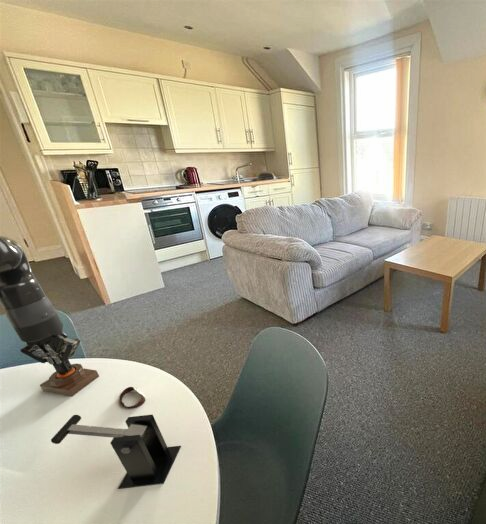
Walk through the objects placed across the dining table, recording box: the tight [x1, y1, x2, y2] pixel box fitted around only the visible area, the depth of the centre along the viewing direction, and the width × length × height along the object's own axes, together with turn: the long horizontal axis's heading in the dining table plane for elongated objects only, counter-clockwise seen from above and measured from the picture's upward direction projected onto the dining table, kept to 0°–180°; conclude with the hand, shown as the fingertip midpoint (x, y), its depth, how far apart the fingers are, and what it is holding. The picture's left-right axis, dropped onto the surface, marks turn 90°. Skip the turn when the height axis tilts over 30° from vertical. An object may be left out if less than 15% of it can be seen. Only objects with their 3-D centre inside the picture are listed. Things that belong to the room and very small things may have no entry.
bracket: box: [110, 414, 182, 490], centre depth 53 cm, size 8×7×12 cm
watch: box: [118, 386, 146, 410], centre depth 70 cm, size 8×5×4 cm, turn 58°
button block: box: [39, 363, 100, 397], centre depth 76 cm, size 10×7×4 cm
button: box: [57, 367, 75, 379], centre depth 76 cm, size 4×4×2 cm
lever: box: [50, 414, 147, 445], centre depth 51 cm, size 13×4×2 cm, turn 96°
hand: (66, 371), depth 76 cm, fingers closed
